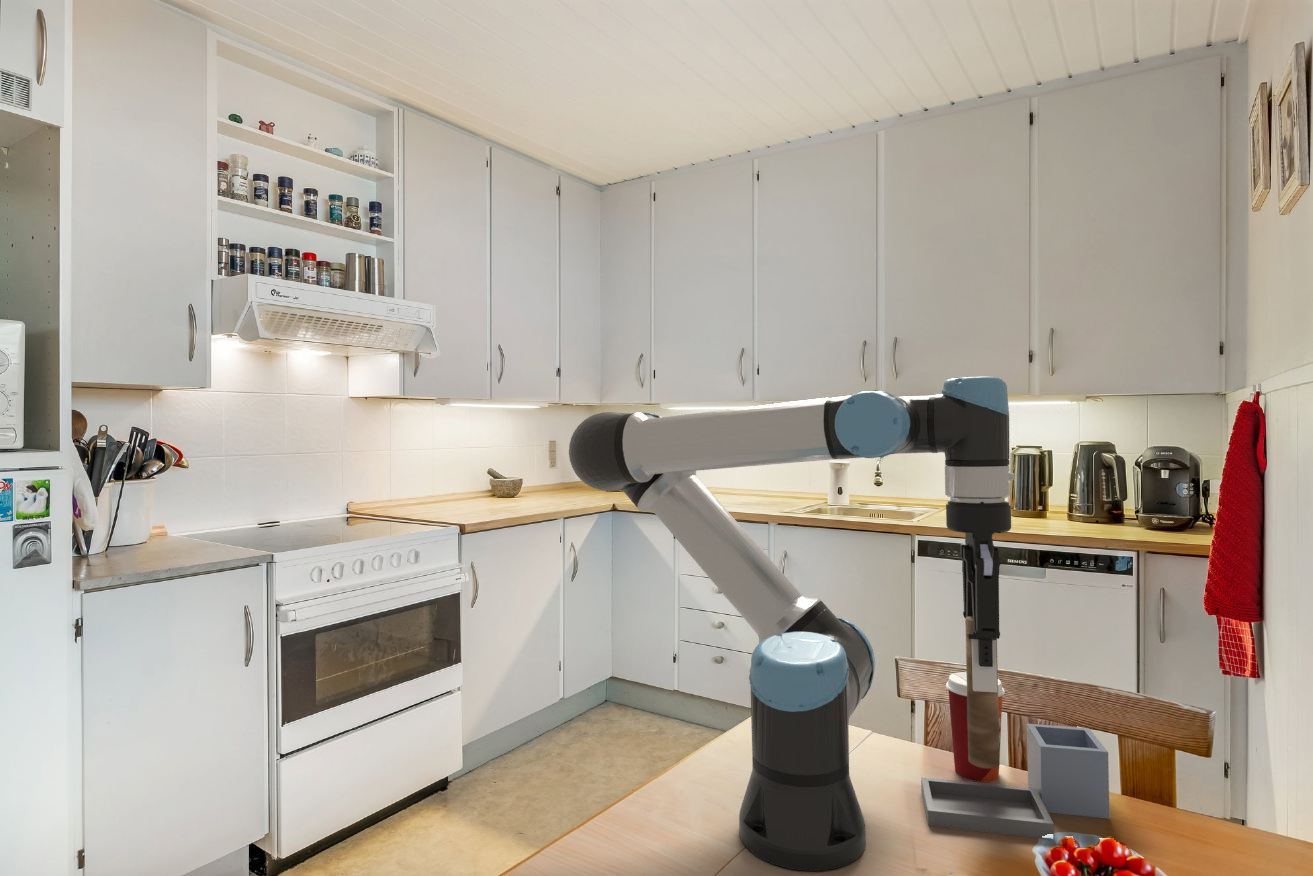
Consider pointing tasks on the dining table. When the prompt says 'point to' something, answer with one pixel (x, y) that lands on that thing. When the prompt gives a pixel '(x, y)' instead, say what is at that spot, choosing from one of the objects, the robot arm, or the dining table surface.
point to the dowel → (981, 716)
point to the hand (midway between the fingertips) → (981, 684)
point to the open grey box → (1068, 770)
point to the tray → (985, 808)
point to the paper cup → (960, 729)
